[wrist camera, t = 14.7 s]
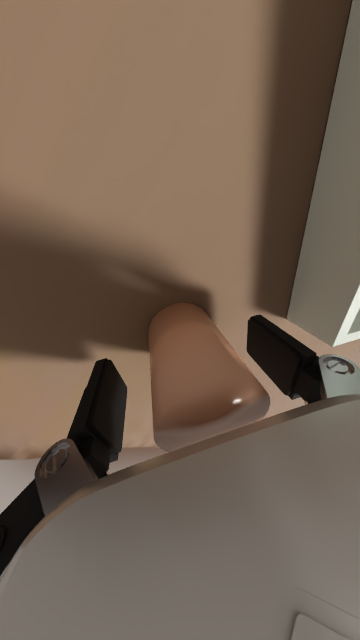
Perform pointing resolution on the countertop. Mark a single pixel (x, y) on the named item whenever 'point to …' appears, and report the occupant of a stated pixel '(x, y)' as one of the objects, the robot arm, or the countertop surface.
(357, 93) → the box
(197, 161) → the countertop surface
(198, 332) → the tan rounded-top part
